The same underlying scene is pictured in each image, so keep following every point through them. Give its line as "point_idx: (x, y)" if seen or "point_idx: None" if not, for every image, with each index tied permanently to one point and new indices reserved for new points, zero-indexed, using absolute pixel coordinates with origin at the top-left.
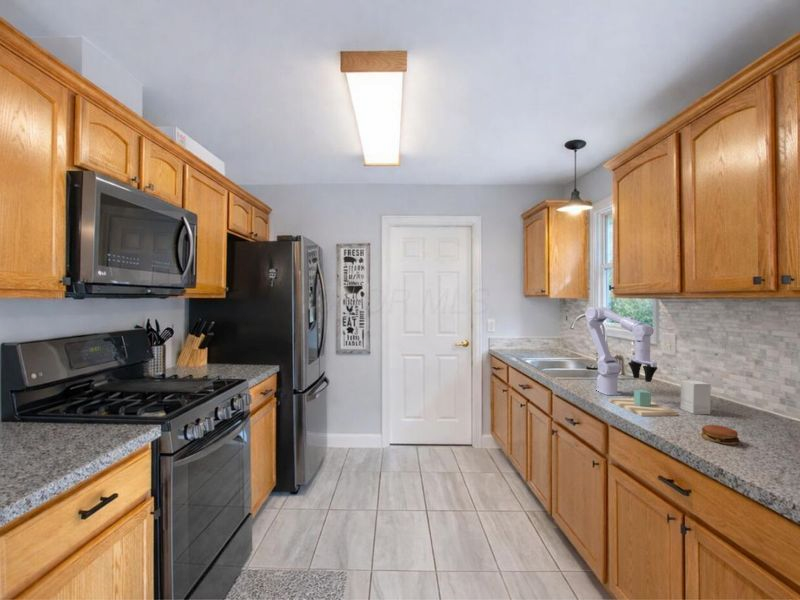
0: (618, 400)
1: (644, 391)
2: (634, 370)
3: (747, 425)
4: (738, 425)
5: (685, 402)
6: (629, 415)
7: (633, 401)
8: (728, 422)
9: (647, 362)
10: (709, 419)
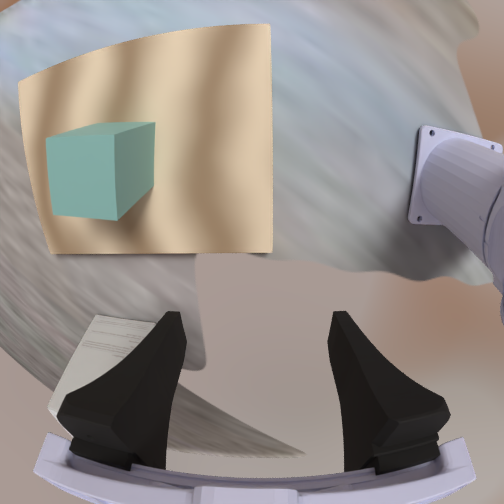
0: (221, 57)
1: (73, 189)
2: (354, 371)
3: (44, 352)
4: (34, 335)
5: (116, 343)
6: (37, 33)
7: (197, 146)
8: (48, 335)
9: (81, 482)
10: (54, 312)
